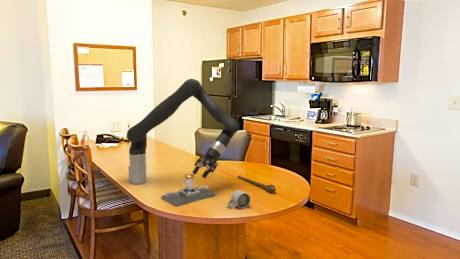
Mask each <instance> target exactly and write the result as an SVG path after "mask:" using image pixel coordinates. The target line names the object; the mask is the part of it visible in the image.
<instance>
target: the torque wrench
mask: <svg viewBox="0 0 460 259" xmlns="http://www.w3.org/2000/svg"><path fill="white" fill-rule="evenodd" d="M237 178H238V179H240V180H243V181H246V182H248V183H250V184H253V185H256V186H258V187H262V188H264V190H266V191H267V193H268V194H273V193H275V192H276V191H277V189H276V186H275V185H274V184H264V183H261V182H257V181H254V180H252V179H249V178H246V177H244V176H241V175H238V176H237Z"/></svg>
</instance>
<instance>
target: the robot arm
mask: <svg viewBox="0 0 460 259" xmlns="http://www.w3.org/2000/svg"><path fill="white" fill-rule="evenodd" d="M192 97H193V98H194V99H196V100H197V101H198V102H200V104H201V105H202V106H203V108H205V110H206V111H207V112H208V114H209V115H210V116H211V117H212V119H213V120H215V121H216V122H217V123H218V124H222V125H223V126H224V127H223V129H222V130H221V132H220V134H219V135H218V136H217V137H216V138H215V140H214V141H213V142H212V143H211V145H210V146H209V148H207V150H206V152H205V156H204V157H203V156H200V157H199V158H198V159H197V160H196V162H195V163H194V166H195V167H194V169H193V170H192V173H191V174H193V175H194V176H195V175H197V173H198V172H199V170H200V169H202V168H206V169H205V170H204V172H203V174H201V177H202V178H204V179H206V178H207V177H208V175H209V174H210V173H214V172H215V170H216V169H217V168H218V165H219V162H218V161H219V159H220V157H221V156H222V155H223V154H224V152H225V150H226V148H227V147H228V145H229V144H230V141H231V140H232V139H233V136H235V134H236V133H237V132H238V131H239V130H240V124H239V122H238V120H236V119H235V118H234V117H233V116H231V115H229V114H227V113H226V111H225V110H224V109H223V108H222V107H221V106H220V105H219V104H218V103H217V102H216V101H215V100H214V99H213V98H211V96H210V95H209V94H208V92H206V89H204V87H203V86H202V84H201V82H200V81H199V80H197V79H195V78H194V79H193V78H189V79H187V80H185V81H184V82H183V83H182V84H181V85H180V86H179V87H178V88H177V89H176V90H175V91H174V92H173V93H172V94H170V95H169V96H168V97H166V98H165V99H164V100H162V101H161V102H160V103H159V104H157V105H156V106H155V107H154V108H153V109H152V110H151V111H150V112H148V114H147V115H146V116H145V117H144V118H142V119H141V120H140V121H139V122H137V123H136V124H134V125H133V126H131V127H130V128H129V129H128V131H127V132H126V139H127V141H129V142H130V146H129V149H128V150H129V151H128V153H129V154H128V155H129V165H128V183H130V184H133V185H141V184H145V183H146V182H148V181H147V157H146V156H147V144H148V143H147V142H148V140H147V137H148V136H147V134H148V133H150V131H152V130H153V129H155V128H156V127H158V126H160V125H161V124H162V123H164V122H165V121H167V120H168V119H170V118H171V116H173V115H174V114H175V113H176V111H177V110H178V109H179V107H180V106H181V105H182V104H184V102H186V101H187V100H188V99H190V98H192Z"/></svg>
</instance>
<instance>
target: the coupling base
mask: <svg viewBox="0 0 460 259" xmlns="http://www.w3.org/2000/svg"><path fill="white" fill-rule="evenodd" d="M209 189H210V188H209V185H208V184H207V185H203V186H199V185H198V186H195V187H193V192H190V193H186V192H185V188H181V189H177V190H176V191H175V190H174V191H167V192H164V193H165V194H163V195H161V199H162V200H163V201H165V202H168V203H169V204H171V205H173V206H175V207H179V206H183V205H186V204H190V203H194V202H197V201H201V200H204V199H208V198H211V197H214V196H216V192H215V191H212V190H209Z"/></svg>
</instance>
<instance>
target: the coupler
mask: <svg viewBox="0 0 460 259" xmlns="http://www.w3.org/2000/svg"><path fill="white" fill-rule="evenodd" d="M194 177H195V175H194V174H193V173H186V174H184V189H185V192H186V193H190V192H193V188H194V179H195V178H194Z"/></svg>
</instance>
